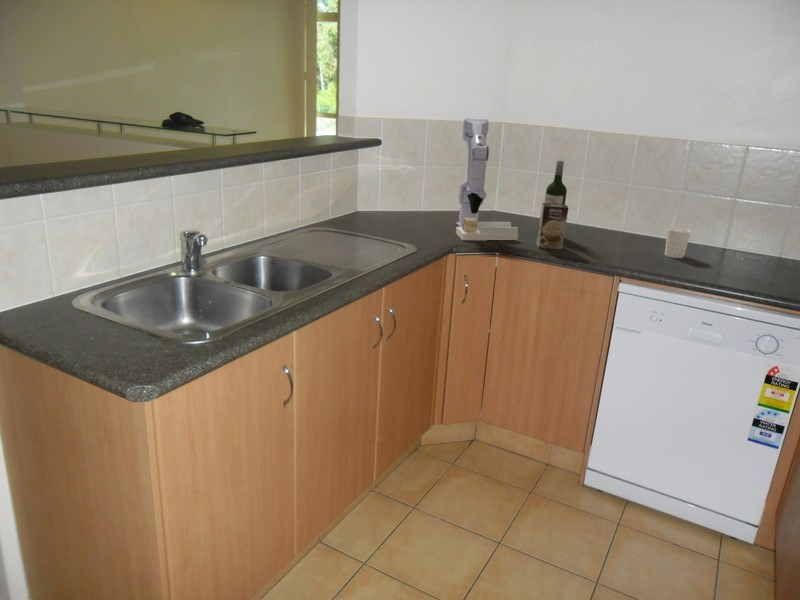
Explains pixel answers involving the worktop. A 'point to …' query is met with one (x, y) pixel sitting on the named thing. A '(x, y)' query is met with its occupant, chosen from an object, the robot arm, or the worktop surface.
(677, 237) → the white cup
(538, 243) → the coffee box
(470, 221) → the block
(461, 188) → the robot arm
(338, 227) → the worktop surface
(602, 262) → the worktop surface
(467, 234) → the white tray
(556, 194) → the wine bottle
